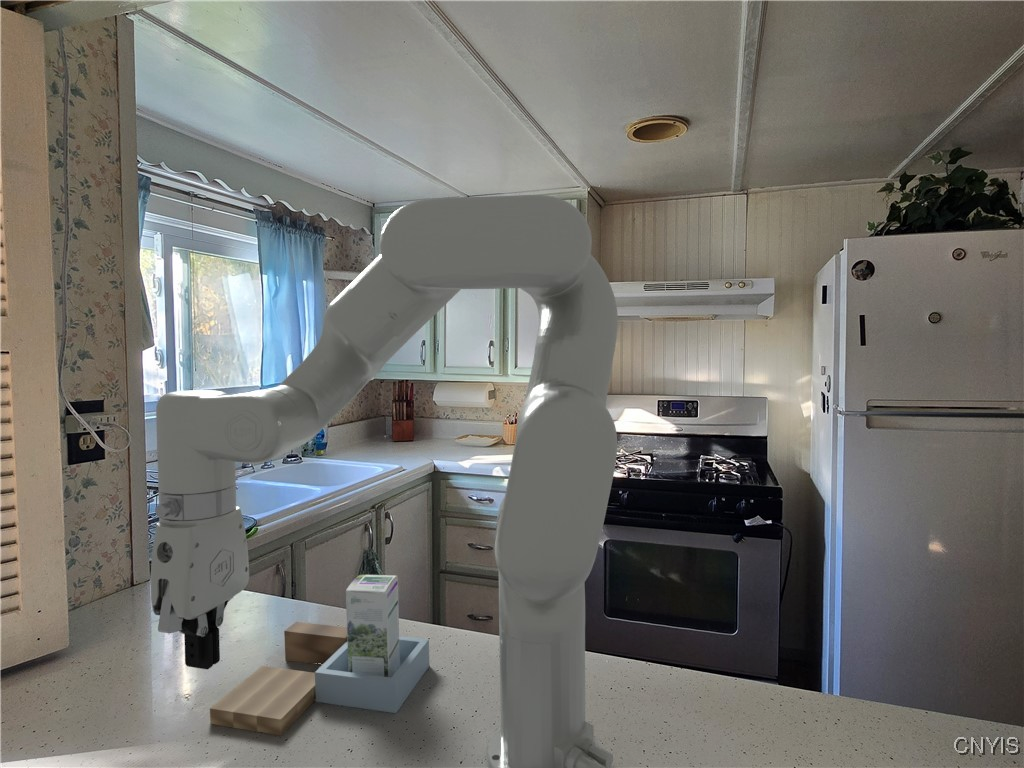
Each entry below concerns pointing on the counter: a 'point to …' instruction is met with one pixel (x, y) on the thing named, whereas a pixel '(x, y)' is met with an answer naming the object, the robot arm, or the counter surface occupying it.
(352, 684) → the square frame
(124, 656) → the counter surface
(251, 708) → the board
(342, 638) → the block
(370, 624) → the syrup box
